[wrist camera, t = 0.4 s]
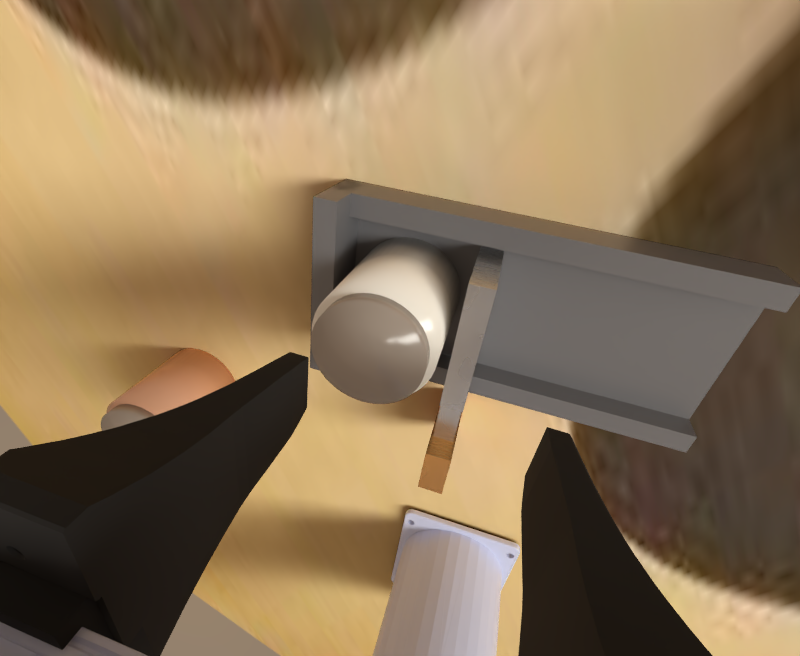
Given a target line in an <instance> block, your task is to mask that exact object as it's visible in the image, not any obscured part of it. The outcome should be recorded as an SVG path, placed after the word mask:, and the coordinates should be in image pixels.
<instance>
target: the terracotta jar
mask: <svg viewBox="0 0 800 656" xmlns="http://www.w3.org/2000/svg"><path fill="white" fill-rule="evenodd" d="M233 382H235V380H234V378H233V376H232V374H231V373H230V371H229V370H228V369H227V368H226V366H225V365H224V364H223V363H222V362H221V361H219V360H218V359H217V358H215V357H214V356H212V355H211V354H209V353H207V352H205V351H202V350H199V349H193V348H187V349H183V350H180V351H179V352H177V353H176V354H175V355H173V356H172V357H171V358H169V359H168V360H167V361H166V362H164V363H163V364H162V365H160V366H159V367H158V368H156V369H155V370H154V371H152V372H151V373H150V374H149V375H147V376H146V377H145V378H143V379H142V380H141V381H139V382H138V383H137V384H135V385H134V386H133V387H131V388H130V389H129V390H128V391H126V392H125V393H124V394H122V395H121V396H120V397H118V398H117V399H116V400H114V401H113V402H112V403H111V404H110V405H109V406H108V408H107V414H105V415H104V416H103V418H102V420H101V428H102V431H104V430H108V429H112V428H116V427H119V426H122V425H126V424H129V423H132V422H135V421H139V420H142V419H145V418H148V417H151V416H155V415H158V414H160V413H163V412H166V411H169V410H171V409H174V408H177V407H179V406H182V405H184V404H187V403H189V402H192V401H194V400H197V399H199V398H201V397H203V396H205V395H208V394H210V393H212V392H214V391H216V390H218V389H220V388H222V387H225V386H227V385H229V384H231V383H233Z"/></svg>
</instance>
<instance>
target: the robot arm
mask: <svg viewBox="0 0 800 656" xmlns="http://www.w3.org/2000/svg"><path fill="white" fill-rule="evenodd" d="M307 387H308V357H305V356H302V355H298V354H295V353H291V352H290V353H288V354H286V355H284V356H282V357H280V358H278V359H276V360H274V361H273V362H271V363H269V364H267V365H265V366H263V367H262V368H260V369H258V370H256V371H254V372H252V373H250V374H248V375H246V376H245V377H243V378H241V379H239V380H237V381H235V382H233V383H231V384H229V385H227V386H225V387H222V388H220V389H218V390H216V391H214V392H212V393H210V394H208V395H205V396H203V397H201V398H199V399H197V400H194V401H192V402H189V403H187V404H184V405H182V406H179V407H177V408H174V409H171V410H169V411H166V412H163V413H160V414H158V415H155V416H151V417H148V418H145V419H142V420H139V421H135V422H132V423H129V424H126V425H122V426H119V427H116V428H112V429H108V430H104V431H100V432H96V433H92V434H88V435H84V436H79V437H75V438H70V439H66V440H61V441H56V442H50V443H45V444H39V445H34V446H29V447H23V448H17V449H10V450H8V451H7V452H5V453H4V454H2V455H1V456H0V656H160V655H161V653H162V651H163V649H164V647H165V645H166V643H167V641H168V639H169V637H170V635H171V633H172V631H173V629H174V627H175V625H176V623H177V621H178V619H179V617H180V615H181V613H182V611H183V609H184V607H185V605H186V603H187V601H188V599H189V597H190V596H191V594H192V592H193V590H194V588H195V586H196V584H197V582H198V581H199V579H200V577H201V575H202V573H203V571H204V569H205V567H206V566H207V564H208V562H209V560H210V559H211V557H212V555H213V553H214V551H215V550H216V548H217V546H218V544H219V543H220V541H221V539H222V537H223V535H224V534H225V532H226V530H227V529H228V527H229V525H230V524H231V522H232V520H233V519H234V517H235V515H236V513H237V512H238V510H239V508H240V507H241V505H242V504H243V502H244V501H245V499H246V498H247V496H248V495H249V493H250V492H251V491H252V489H253V488H254V486H255V485H256V484H257V482H258V481H259V480H260V478H261V477H262V476H263V474H264V473H265V471H266V470H267V469H268V467H269V466H270V465H271V463H272V462H273V461H274V459H275V458H276V456H277V455H278V454H279V452H280V451H281V450H282V448H283V447H284V445H285V444H286V443H287V441H288V440H289V438H290V437H291V435H292V434H293V432H294V430H295V428H296V427H297V425H298V423H299V421H300V419H301V418H302V416H303V414H304V412H305V410H306V408H307ZM521 517H522V578H523V601H522V620H521V632H520V645H519V656H712V655H711V653H710V652H709V651H708V650H707V649H706V648H705V647H704V645H703V644H702V643H701V642H700V641H699V639H698V638H697V637H696V636H695V635H694V633H693V632H692V631H691V630H690V629H689V627H688V626H687V625H686V624H685V622H684V621H683V620H682V619H681V617H680V616H679V615H678V614H677V612H676V611H675V610H674V608H673V607H672V606H671V605H670V603H669V602H668V601H667V600H666V598H665V597H664V596H663V594H662V593H661V592H660V590H659V589H658V588H657V586H656V585H655V584H654V582H653V581H652V579H651V578H650V577H649V575H648V574H647V572H646V571H645V569H644V568H643V566H642V565H641V564H640V562H639V561H638V559H637V558H636V556H635V555H634V553H633V552H632V550H631V549H630V547H629V546H628V544H627V542H626V541H625V539H624V537H623V536H622V534H621V532H620V531H619V529H618V527H617V526H616V524H615V522H614V521H613V519H612V517H611V515H610V514H609V512H608V510H607V508H606V506H605V504H604V503H603V501H602V499H601V497H600V495H599V493H598V491H597V489H596V488H595V486H594V484H593V482H592V480H591V478H590V476H589V474H588V471H587V469H586V467H585V465H584V463H583V461H582V459H581V457H580V455H579V452H578V450H577V448H576V446H575V444H574V442H573V439H572V437H571V436H570V434H568V433H565V432H561V431H558V430H555V429H551V428H548V427H547V428H546V431H545V433H544V435H543V437H542V440H541V442H540V444H539V446H538V448H537V451H536V453H535V455H534V457H533V459H532V462H531V464H530V466H529V468H528V470H527V473H526V475H525V481H524V490H523V499H522V510H521ZM519 554H520V547H519V545H518V544H516V543H514V542H511V541H508V540H505V539H502V538H499V537H496V536H493V535H490V534H487V533H484V532H481V531H478V530H475V529H472V528H469V527H466V526H463V525H460V524H457V523H454V522H451V521H447V520H444V519H441V518H438V517H435V516H432V515H429V514H426V513H423V512H420V511H417V510H414V509H409V510H407V511H406V514H405V518H404V523H403V527H402V532H401V536H400V541H399V545H398V550H397V554H396V559H395V563H394V568H393V572H392V577H391V581H392V582H393V586H392V589H391V593H390V597H389V600H388V604H387V607H386V611H385V614H384V618H383V621H382V625H381V628H380V632H379V635H378V639H377V642H376V646H375V649H374V653H373V656H496V652H497V638H498V623H499V609H500V595H501V590H502V588H503V586H504V584H505V582H506V580H507V578H508V576H509V574H510V572H511V570H512V568H513V566H514V564H515V562H516V560H517V558H518V556H519Z"/></svg>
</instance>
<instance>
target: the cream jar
mask: <svg viewBox="0 0 800 656" xmlns="http://www.w3.org/2000/svg"><path fill="white" fill-rule="evenodd" d="M459 299H460V281H459V277H458V274H457V271H456V269H455V267H454V265H453V264H452V262H451V261H450V260H449V258H448V257H447V256H446V255H445V254H444V253H443V252H442V251H441V250H440V249H438V248H437V247H435V246H434V245H432V244H430V243H428V242H426V241H424V240H420V239H417V238H411V237H398V238H393V239H389V240H387V241H384V242H382V243H380V244H379V245H377V246H376V247H375V248H373V249H372V250H371V251H370V252H369V254H368V255H367V256H366V257H365V258H364V259H363V260H362V261H361V262H360V263H359V264H358V265H357V266H356V267H355V268H354V269H353V270H352V271H351V272H350V273H349V274H348V275H347V276H346V277H345V278H344V280H343V281H342V282H341V283H340V284H339V285H338V286H337V287H336V288H335V289H334V290H333V291H332V292H331V293H330V294H329V295H328V296H327V297H326V298H325V299H324V300H323V302H322V303H321V304H320V305H319V307H318V308H317V310H316V312H315V315H314V318H313V322H312V334H311V349H312V354H313V357H314V360H315V362H316V364H317V366H318V368H319V370H320V371H321V373H322V374H323V375H324V377H325V378H326V379H327V380H328V381H329V382H330V383H331V384H332V385H333V386H334V387H336V388H337V389H338V390H340V391H341V392H343V393H344V394H346V395H348V396H350V397H352V398H354V399H357V400H360V401H363V402H367V403H373V404H388V403H394V402H397V401H400V400H403V399H405V398H406V397H408V396H410V395H411V394H412V393H414V392H416V391H418V390H419V389H421V388H422V387H423V386H424V385H425V384H426V383H427V382H428V381H429V380H430V378H431V377H432V375H433V373H434V371H435V369H436V366H437V363H438V360H439V357H440V354H441V351H442V349H443V346H444V343H445V340H446V337H447V334H448V331H449V329H450V326H451V323H452V320H453V317H454V314H455V311H456V309H457V306H458V303H459Z"/></svg>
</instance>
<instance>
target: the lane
mask: <svg viewBox="0 0 800 656" xmlns="http://www.w3.org/2000/svg"><path fill="white" fill-rule="evenodd" d="M398 237H411V238H417V239H420V240H424V241H426V242H428V243H430V244H432V245H434V246H435V247H437V248H438V249H440V250H441V251H442V252H443V253H444V254H445V255H446V256H447V257H448V258H449V260H450V261H451V262H452V264H453V265H454V267H455V269H456V271H457V274H458V277H459V281H460V299H459V303H458V306H457V309H456V311H455V314H454V317H453V320H452V323H451V326H450V329H449V331H448V334H447V337H446V340H445V343H444V346H443V349H442V351H441V354H440V357H439V360H438V363H437V366H436V369H435V371H434V373H433V375H432V377H431V378H430V380H429V381H431V382H434V383H438V384H441V385H444V384H445V380H446V376H447V372H448V368H449V364H450V359H451V355H452V351H453V347H454V343H455V338H456V334H457V330H458V326H459V322H460V318H461V313H462V309H463V305H464V301H465V297H466V293H467V288H468V284H469V281H470V278H471V275H472V272H473V269H474V266H475V263H476V260H477V257H478V254H479V251H480V248H481V246H483V247H487V248H492V249H496V250H501V251H504V255H503V260H502V266H501V271H500V276H499V282H498V287H497V292H496V295H495V299H494V302H493V306H492V309H491V313H490V316H489V320H488V324H487V327H486V331H485V334H484V338H483V341H482V345H481V348H480V352H479V355H478V359H477V363H476V366H475V370H474V373H473V377H472V380H471V384H470V387H469V391H468V392H470V393H474V394H477V395H481V396H485V397H488V398H492V399H495V400H499V401H503V402H506V403H510V404H513V405H517V406H521V407H524V408H528V409H531V410H535V411H539V412H542V413H546V414H549V415H553V416H557V417H560V418H564V419H567V420H571V421H575V422H578V423H582V424H585V425H589V426H593V427H596V428H600V429H603V430H607V431H611V432H614V433H618V434H621V435H625V436H629V437H632V438H636V439H639V440H643V441H647V442H650V443H654V444H657V445H661V446H665V447H668V448H672V449H675V450H679V451H683V452H687V450H688V449H689V448H690V446H691V445H692V443H693V442H694V441H695V439H696V438H697V436H696V434H695V432H694V430H693V427H692V425H691V423H690V421H689V418H690V417H691V416H692V414H693V413H694V411H695V410H696V408H697V407H698V405H699V404H700V402H701V401H702V399H703V398H704V396H705V395H706V393H707V392H708V391H709V389H710V388H711V386H712V385H713V383H714V382H715V380H716V379H717V377H718V376H719V374H720V373H721V371H722V370H723V368H724V367H725V366H726V364H727V363H728V361H729V360H730V358H731V357H732V355H733V354H734V352H735V351H736V349H737V348H738V346H739V345H740V343H741V342H742V340H743V339H744V338H745V336H746V335H747V333H748V332H749V330H750V329H751V327H752V326H753V324H754V323H755V321H756V320H757V318H758V317H759V315H760V314H761V313H762V311H763V310H764V308H767V309H772V310H776V311H781V312H787V311H788V309H789V308H790V307H791V305H792V304H793V302H794V301H795V300H796V298H797V297H798V295H799V294H800V285H799V284H797V283H796V282H795V281H794V280H792V279H791V278H790V277H789V276H787V275H786V274H785V273H784V272H782V271H781V270H780V269H778V268H777V267H773V266H768V265H763V264H758V263H754V262H749V261H744V260H739V259H734V258H729V257H724V256H719V255H715V254H710V253H705V252H700V251H695V250H690V249H685V248H680V247H676V246H671V245H666V244H661V243H656V242H651V241H646V240H641V239H637V238H632V237H627V236H622V235H617V234H612V233H607V232H602V231H598V230H593V229H588V228H583V227H578V226H573V225H568V224H563V223H559V222H554V221H549V220H544V219H539V218H534V217H529V216H524V215H520V214H515V213H510V212H505V211H500V210H495V209H490V208H485V207H481V206H476V205H471V204H466V203H461V202H456V201H451V200H446V199H442V198H437V197H432V196H427V195H422V194H417V193H412V192H407V191H403V190H398V189H393V188H388V187H383V186H378V185H373V184H368V183H364V182H359V181H354V180H349V179H346V180H344V181H342V182H340V183H338V184H336V185H334V186H333V187H331V188H329V189H327V190H325V191H323V192H321V193H319V194H317V195H316V196H314V197H313V240H312V295H311V334H312V322H313V318H314V315H315V312H316V310H317V308H318V307H319V305H320V304H321V303H322V302H323V300H324V299H325V298H326V297H327V296H328V295H329V294H330V293H331V292H332V291H333V290H334V289H335V288H336V287H337V286H338V285H339V284H340V283H341V282H342V281H343V280H344V278H345V277H346V276H347V275H348V274H349V273H350V272H351V271H352V270H353V269H354V268H355V267H356V266H357V265H358V264H359V263H360V262H361V261H362V260H363V259H364V258H365V257H366V256H367V255H368V254H369V252H370V251H371V250H372V249H373V248H375V247H376V246H377V245H379V244H380V243H382V242H384V241H387V240H389V239H393V238H398ZM310 368H313V369H317V370H319V368H318V366H317V364H316V362H315V360H314V357H313V354H312V349H310Z"/></svg>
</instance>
